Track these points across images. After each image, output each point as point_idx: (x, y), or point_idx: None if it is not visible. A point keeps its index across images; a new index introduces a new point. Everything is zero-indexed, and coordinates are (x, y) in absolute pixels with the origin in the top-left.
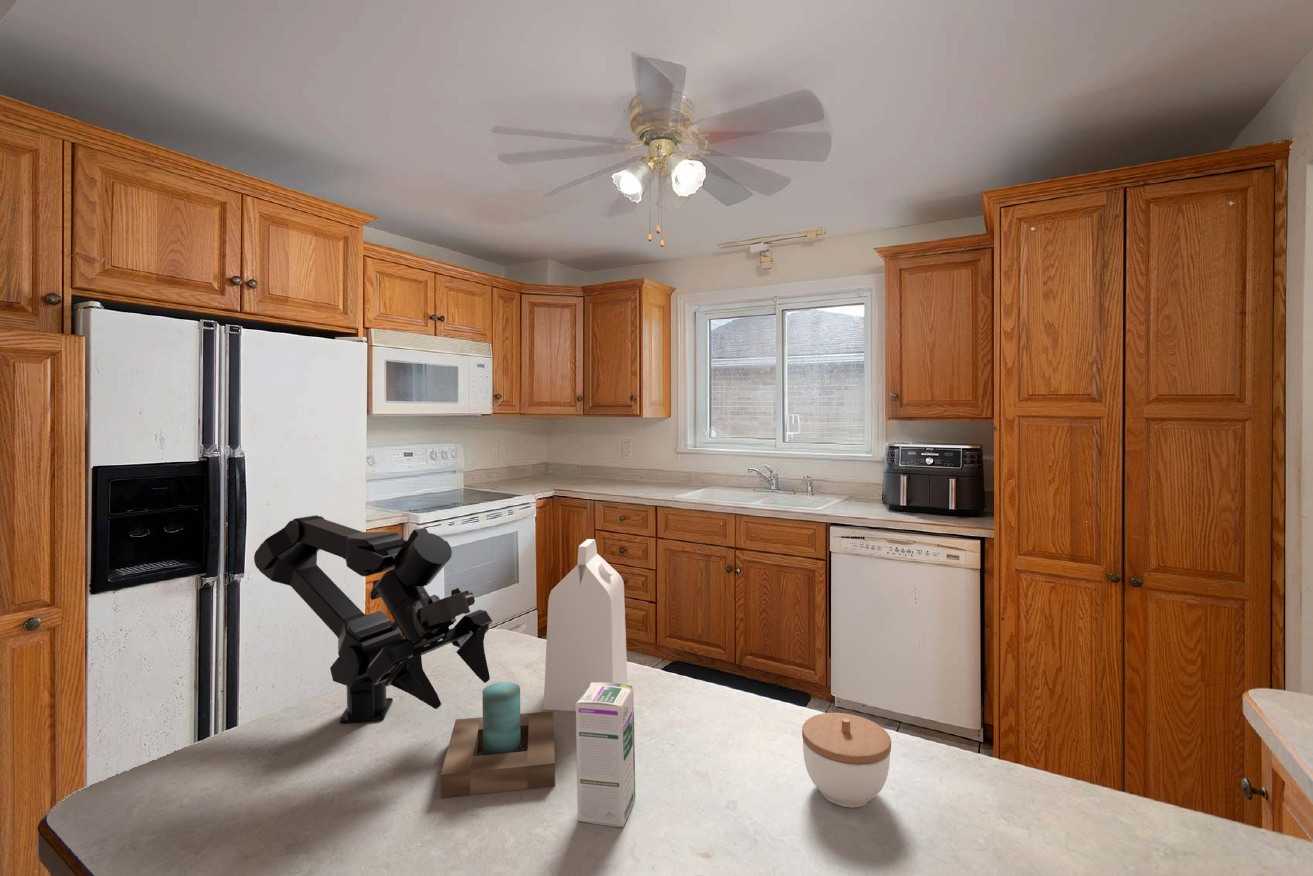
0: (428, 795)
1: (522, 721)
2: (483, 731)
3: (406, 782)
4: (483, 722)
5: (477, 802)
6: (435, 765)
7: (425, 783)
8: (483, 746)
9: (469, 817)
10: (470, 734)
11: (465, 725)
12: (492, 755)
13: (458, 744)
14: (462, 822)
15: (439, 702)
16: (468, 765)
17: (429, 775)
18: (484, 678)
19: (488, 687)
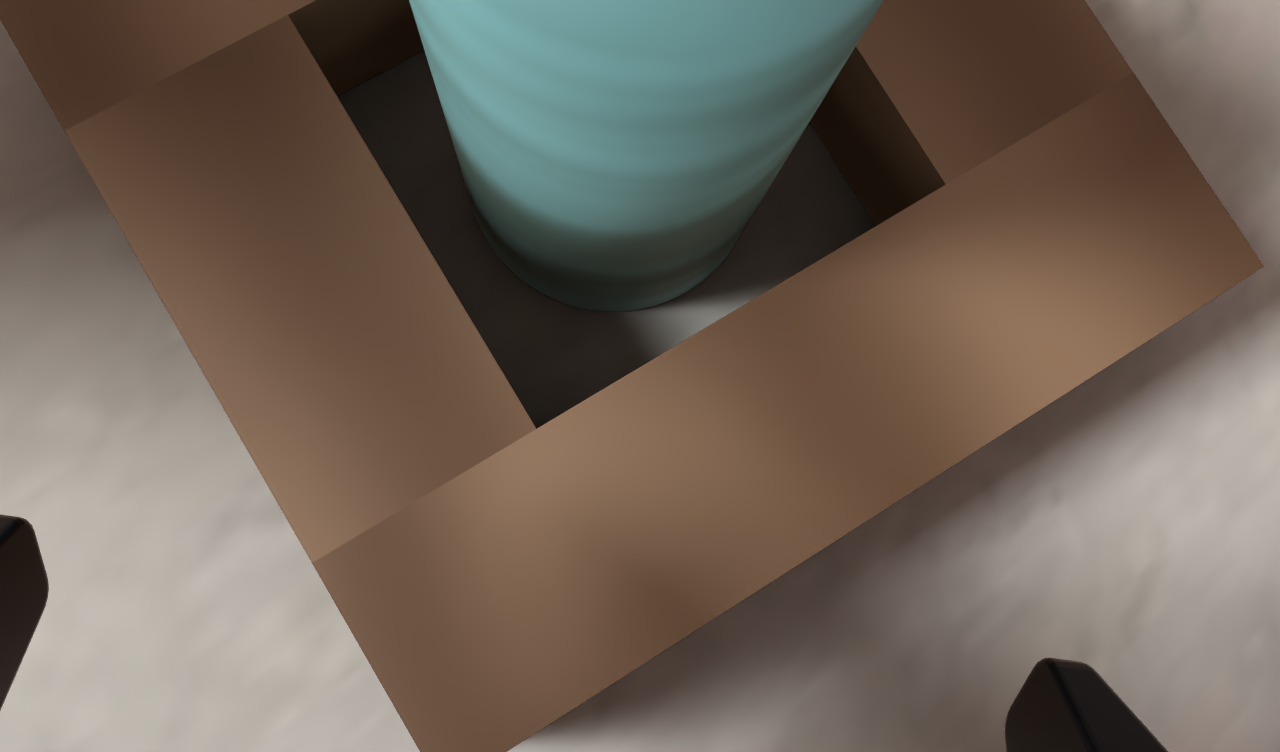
0: (1161, 412)
1: (249, 101)
2: (778, 168)
3: (1113, 680)
4: (802, 128)
5: None
6: (852, 630)
7: (1064, 534)
8: (744, 221)
9: (1218, 15)
10: (648, 438)
11: (515, 603)
12: (865, 39)
13: (840, 429)
14: (1272, 26)
15: (1087, 675)
16: (1066, 138)
17: (975, 578)
18: (6, 607)
19: (660, 11)
